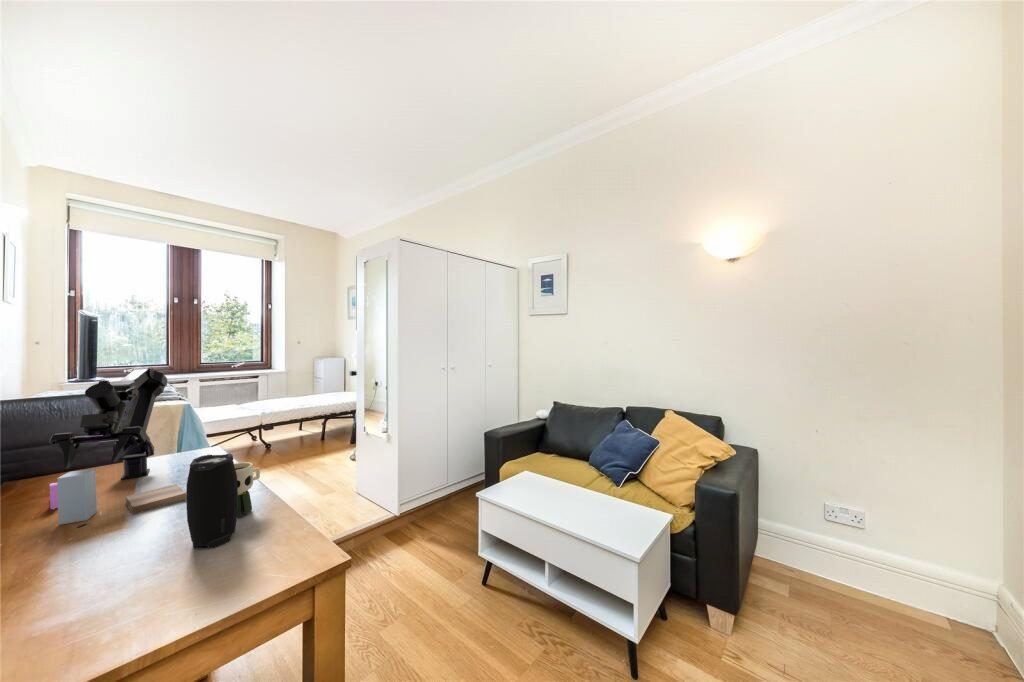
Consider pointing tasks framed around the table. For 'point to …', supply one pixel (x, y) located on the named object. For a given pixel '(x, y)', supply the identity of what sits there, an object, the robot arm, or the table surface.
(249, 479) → the character mug
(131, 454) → the robot arm
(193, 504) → the portable speaker
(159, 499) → the plinth
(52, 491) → the bracket
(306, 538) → the table surface
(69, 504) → the block
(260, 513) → the table surface
